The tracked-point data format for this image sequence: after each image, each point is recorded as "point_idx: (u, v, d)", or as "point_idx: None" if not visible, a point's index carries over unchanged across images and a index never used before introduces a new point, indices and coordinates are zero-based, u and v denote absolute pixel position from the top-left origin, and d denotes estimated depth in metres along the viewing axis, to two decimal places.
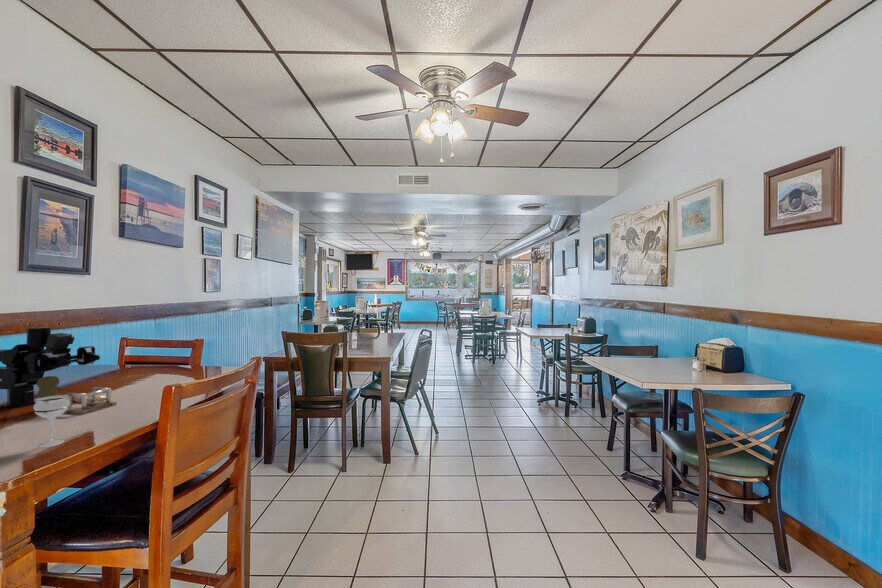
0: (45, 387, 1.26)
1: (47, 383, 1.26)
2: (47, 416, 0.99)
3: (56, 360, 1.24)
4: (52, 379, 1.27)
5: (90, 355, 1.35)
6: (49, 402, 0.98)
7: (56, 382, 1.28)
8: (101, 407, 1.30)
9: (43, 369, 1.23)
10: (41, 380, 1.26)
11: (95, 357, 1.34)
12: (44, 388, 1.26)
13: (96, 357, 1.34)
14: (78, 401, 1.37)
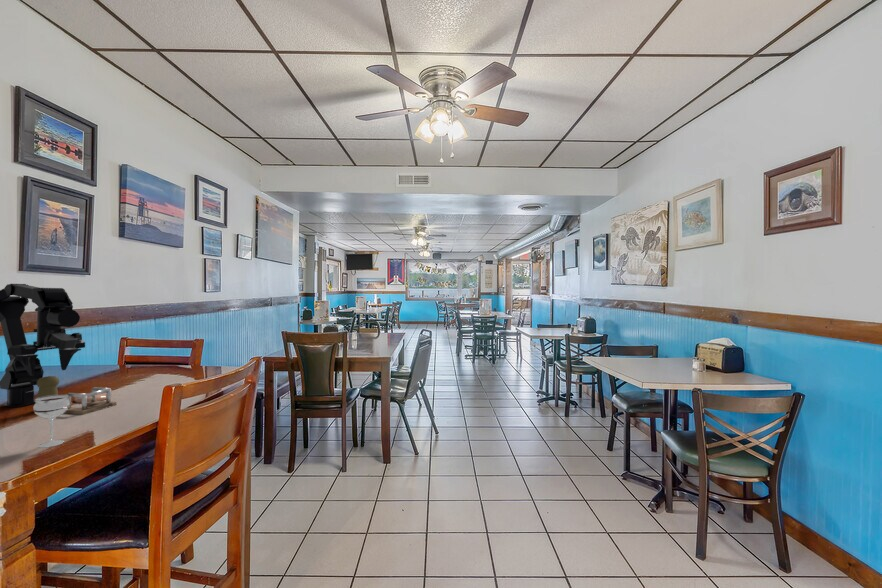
0: (45, 388, 1.26)
1: (47, 383, 1.26)
2: (47, 416, 0.99)
3: (29, 364, 1.22)
4: (52, 379, 1.27)
5: (65, 359, 1.32)
6: (49, 402, 0.98)
7: (56, 382, 1.28)
8: (101, 407, 1.30)
9: (16, 356, 1.21)
10: (41, 380, 1.26)
11: (63, 366, 1.32)
12: (44, 388, 1.26)
13: (63, 367, 1.32)
14: (78, 401, 1.37)
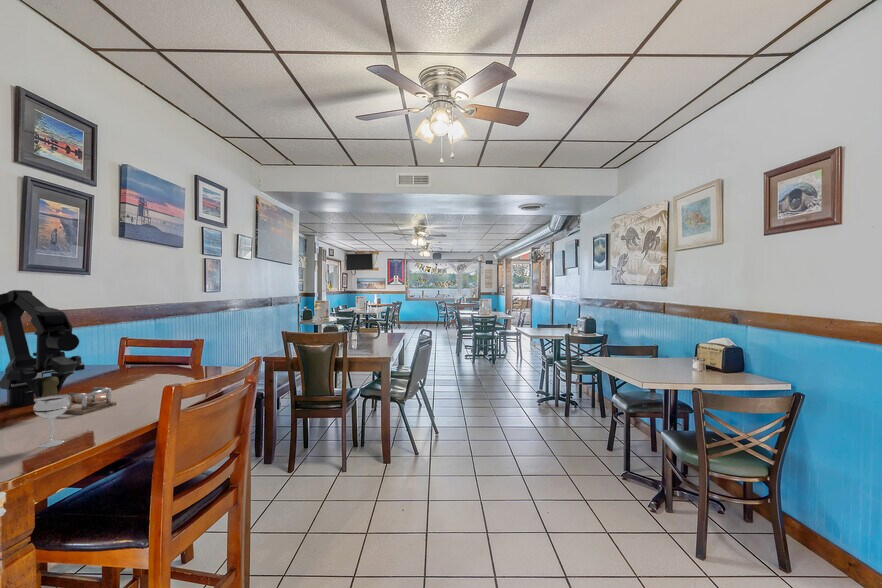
0: (45, 387, 1.26)
1: (47, 383, 1.26)
2: (47, 416, 0.99)
3: (36, 387, 1.24)
4: (52, 379, 1.27)
5: None
6: (49, 402, 0.98)
7: (56, 382, 1.28)
8: (101, 407, 1.30)
9: (24, 379, 1.23)
10: None
11: None
12: (44, 387, 1.26)
13: None
14: (78, 401, 1.37)
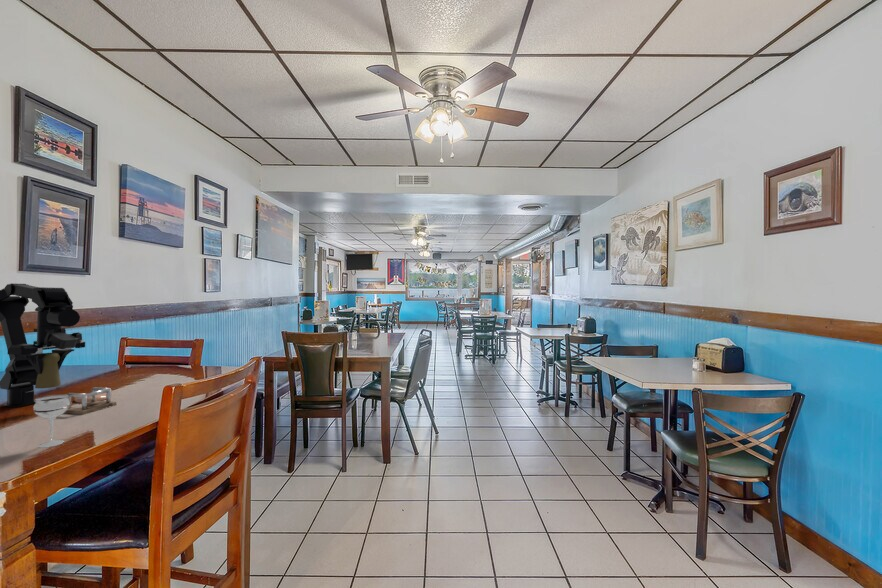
0: (46, 363, 1.26)
1: (48, 359, 1.26)
2: (47, 416, 0.99)
3: (37, 363, 1.24)
4: (53, 355, 1.27)
5: None
6: (49, 402, 0.98)
7: (57, 358, 1.28)
8: (101, 407, 1.30)
9: (24, 355, 1.23)
10: None
11: None
12: (45, 363, 1.26)
13: None
14: (78, 401, 1.37)
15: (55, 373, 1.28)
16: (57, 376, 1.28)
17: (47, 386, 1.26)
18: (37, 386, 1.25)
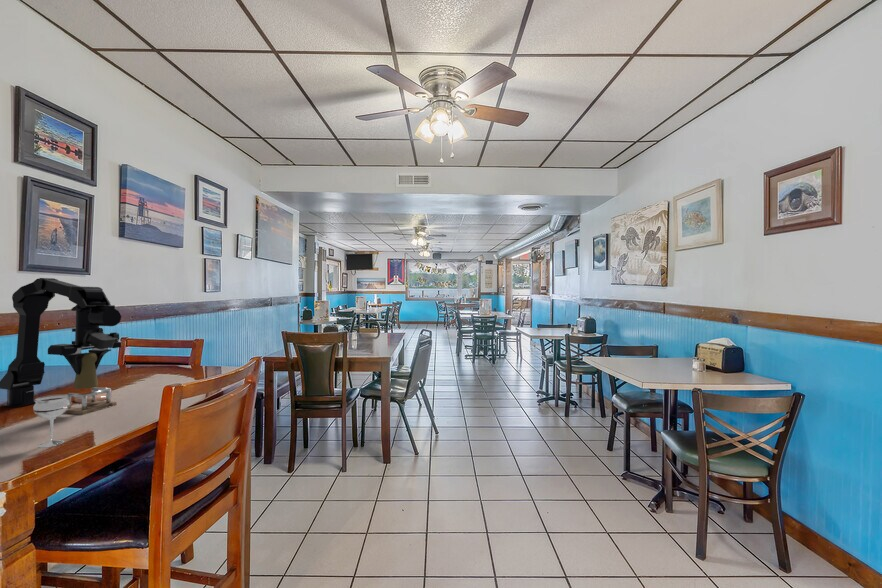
0: (84, 363, 1.25)
1: (86, 359, 1.25)
2: (47, 416, 0.99)
3: (76, 363, 1.23)
4: (91, 355, 1.26)
5: None
6: (49, 402, 0.98)
7: (94, 358, 1.27)
8: (101, 407, 1.30)
9: (63, 355, 1.22)
10: None
11: None
12: (83, 364, 1.24)
13: None
14: (78, 401, 1.37)
15: (93, 373, 1.26)
16: (95, 376, 1.27)
17: (85, 386, 1.24)
18: (75, 386, 1.24)
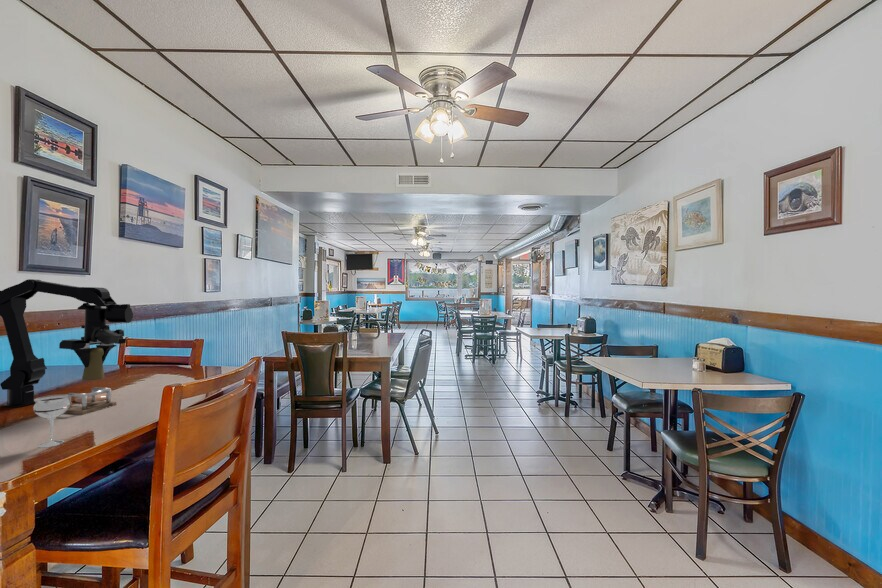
0: (92, 357, 1.36)
1: (94, 353, 1.36)
2: (47, 416, 0.99)
3: (84, 357, 1.35)
4: (98, 350, 1.38)
5: None
6: (49, 402, 0.98)
7: (101, 353, 1.38)
8: (101, 407, 1.30)
9: (73, 349, 1.34)
10: None
11: None
12: (91, 357, 1.36)
13: None
14: (78, 401, 1.37)
15: (100, 366, 1.38)
16: (101, 369, 1.39)
17: (93, 378, 1.36)
18: (84, 378, 1.35)
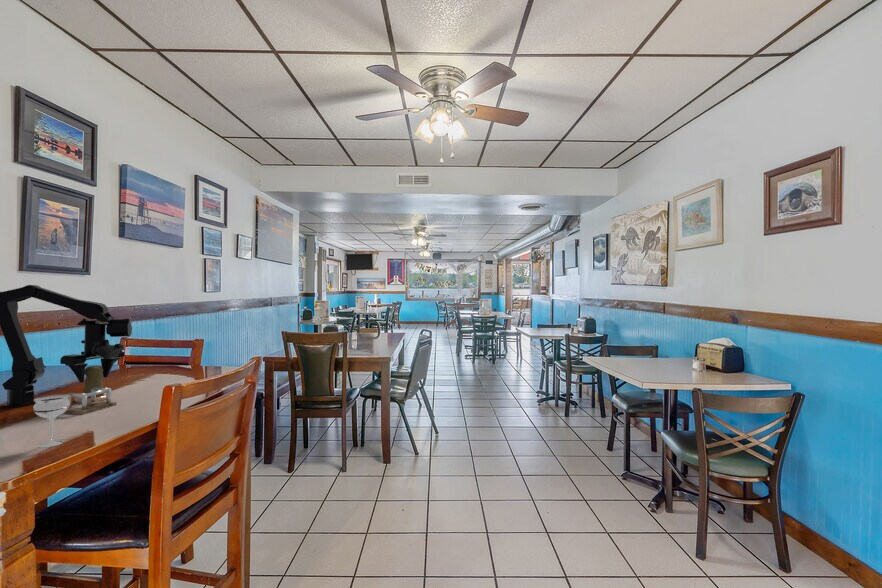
0: (92, 376, 1.40)
1: (94, 372, 1.40)
2: (47, 416, 0.99)
3: (79, 372, 1.36)
4: (98, 368, 1.41)
5: (107, 367, 1.46)
6: (49, 402, 0.98)
7: (101, 371, 1.42)
8: (101, 407, 1.30)
9: None
10: (88, 369, 1.39)
11: (104, 374, 1.46)
12: (91, 376, 1.40)
13: (105, 375, 1.46)
14: (78, 401, 1.37)
15: (99, 384, 1.41)
16: (101, 387, 1.42)
17: None
18: None
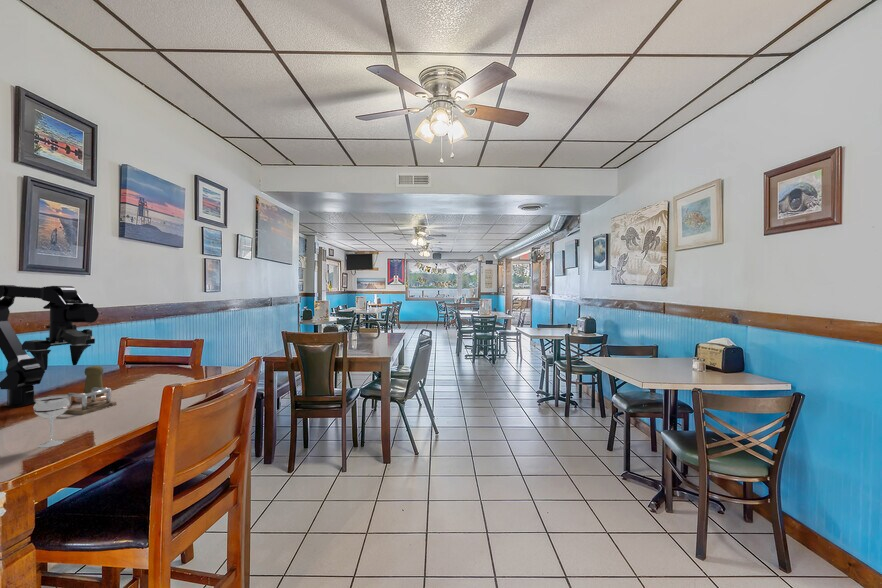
0: (92, 376, 1.40)
1: (94, 372, 1.40)
2: (47, 416, 0.99)
3: (42, 359, 1.27)
4: (98, 368, 1.41)
5: (76, 354, 1.38)
6: (49, 402, 0.98)
7: (101, 371, 1.42)
8: (101, 407, 1.30)
9: (30, 351, 1.26)
10: (88, 369, 1.39)
11: (74, 362, 1.38)
12: (91, 376, 1.40)
13: (74, 362, 1.37)
14: (78, 401, 1.37)
15: (99, 384, 1.41)
16: (101, 387, 1.42)
17: None
18: None
